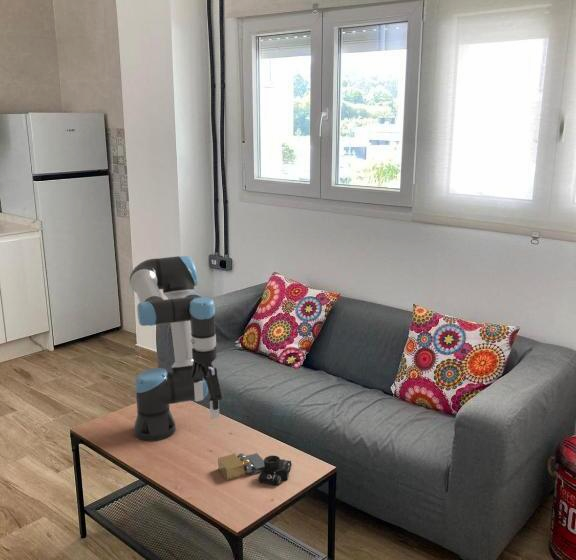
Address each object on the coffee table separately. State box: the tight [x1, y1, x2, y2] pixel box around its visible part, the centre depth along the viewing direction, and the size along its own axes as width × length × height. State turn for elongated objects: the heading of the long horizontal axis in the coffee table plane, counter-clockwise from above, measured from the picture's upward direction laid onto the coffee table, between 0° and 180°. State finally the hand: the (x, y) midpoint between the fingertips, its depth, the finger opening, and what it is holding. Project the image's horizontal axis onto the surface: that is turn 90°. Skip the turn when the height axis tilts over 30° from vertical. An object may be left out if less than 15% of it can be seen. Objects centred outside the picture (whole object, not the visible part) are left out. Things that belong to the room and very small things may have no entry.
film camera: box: [258, 455, 293, 486], centre depth 208 cm, size 13×8×10 cm
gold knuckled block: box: [217, 453, 251, 481], centre depth 211 cm, size 10×8×4 cm
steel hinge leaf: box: [236, 452, 264, 476], centre depth 213 cm, size 8×9×3 cm
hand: (206, 408), depth 206 cm, fingers open, 13 cm apart
